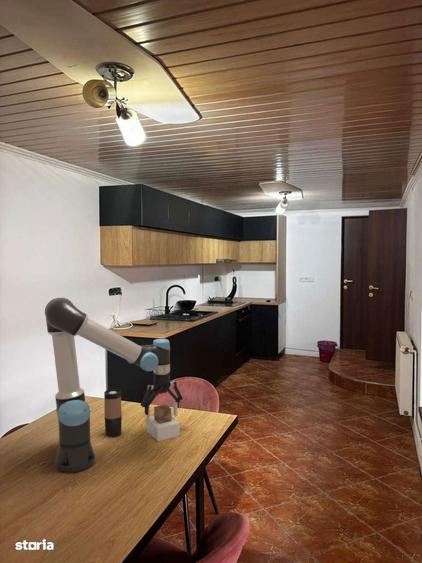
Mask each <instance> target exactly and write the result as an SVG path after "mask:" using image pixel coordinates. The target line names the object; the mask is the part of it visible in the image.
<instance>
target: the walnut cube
mask: <svg viewBox="0 0 422 563" xmlns="http://www.w3.org/2000/svg"><path fill="white" fill-rule="evenodd" d="M153 408H154V409H153V413H154V414H153V416H154V420H155V421H157V422H158V423H159V424H161V423H166V422H170V421H172V417H173V416H172V407H171V406H169V405H167V404H162V405H157V406H154V407H153Z"/></svg>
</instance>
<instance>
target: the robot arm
mask: <svg viewBox="0 0 422 563" xmlns="http://www.w3.org/2000/svg"><path fill="white" fill-rule="evenodd" d="M44 316H45V321H46V328H47V334H49V335H51V340H52V346H53V354H54V356H53V357H54V362H55V363H54V364H55V365H54V366H55V372H56V373H55V374H56V380H57V381H56V382H57V388H58V392H57V393H56V394H55V396H54V397H55V404H56V406H55V407H56V408H55V409H56V410H55V411H56V415H57V423H58V442H59V443H58V444H59V445H58V449H57V453H56V457H55V458H54V468H55V470H56V471H57V472H59V473H65V474H72V473H78V472H83V471H86V470H87V469H89V468H91V467H92V466H93V465H94V464H95V463H96V453H95V450H94V448H93V445H92V442H91V417H90V416H91V409H90V405H89V403H88V402H86V396H85V394H86V393H85V390H84V389H83V388H81V386H80V385H81V384H80V376H79V368H78V360H77V358H78V357H77V349H76V343H75V342H76V341H75V340H76V339H75V337H76V336H79V337H81V338H83V339H85V340H87V341H89V342H91V343H93V344H95V345H97V346H98V347H101V348H103V349H105V350H107V351H109V352H110V353H112V354H114V355H116V356H118V357H121V358H122V359H124V360H126V361H127V363H129V364H134V365H136V366H138V367H140V368H141V369H142V370H144V371H145V372H152V371H153V384H147V386H146V391H145V393H144V395H143V397H142V399H141V402H140V407H142V408H144V415H146V418H147V421H148V422H150V417H151V407H150V406H151V404H152V403H153V401H154V400H155V399H156V397H158V395H162V394H166V393H168V394H169V396H170V397H172V399H173V409H172V410H173V416H175V417H178V409H179V407H180V402H181V401H182V400H183V399H184V398H183V396H182V394H181V391H180V389H179V388H178V385H177V382H176V381H175V380H172V381H171V373H170V372H171V361H170V360H171V346H170V345H171V344H170V341H169V340H168V339H167V338H157V339H154V340H153V343H152V344H145V345H138V344H137V343H135V342H134V341H132V340H130V339H128V338H125V337H124V336H122V335H120V334H118V333H116V332H114V331H113V330H111V329H109V328H107V327H105V326H104V325H101V324H100V323H97V322H96V321H94V320H92V319H90V318H89V316H88V314H87V313H85V312H83V311H81V310H80V309H79V308H77V307H76V306H75V305H74V303H73V302H72V301H71V300H70V299H68V298H65V297H55V298H53V299H51V300H50V301H49V302H47V304H46V306H45V309H44ZM170 387H172V388H173V390H174V392H175V394H176V395H177V396H176V395H175V394H174V393H173V391H172V390H171V389H170ZM153 389H154V390H153Z"/></svg>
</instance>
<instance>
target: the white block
mask: <svg viewBox="0 0 422 563" xmlns="http://www.w3.org/2000/svg"><path fill="white" fill-rule="evenodd" d="M145 430H146V432H148V434H149V435H150V436H152V437H153V439H154V440H156V442H162V441H166V440H169V439H174V438H177V437H180V436H181V422H180V421H178V420H176V419H175V418H174V417H173V416H172V421H170V422H166V423H161V424H159V423H158V422H157V421H155V420H154V415H153V416H150V422H148V421H147V417H145Z"/></svg>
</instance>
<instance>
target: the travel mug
mask: <svg viewBox="0 0 422 563" xmlns="http://www.w3.org/2000/svg"><path fill="white" fill-rule="evenodd" d="M103 394H104V396H103V397H104V398H103V399H104V402H103V403H104V426H105V427H104V430H105V431H104V432H105V433H104V434H105V436H106V437H107V438H116V437H119V436H121V435H122V422H123V421H122V419H123V418H122V413H123V412H122V390H121V389H119V388H117V389H116V388H110V389H106V390H105V391H104V392H103Z"/></svg>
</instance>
